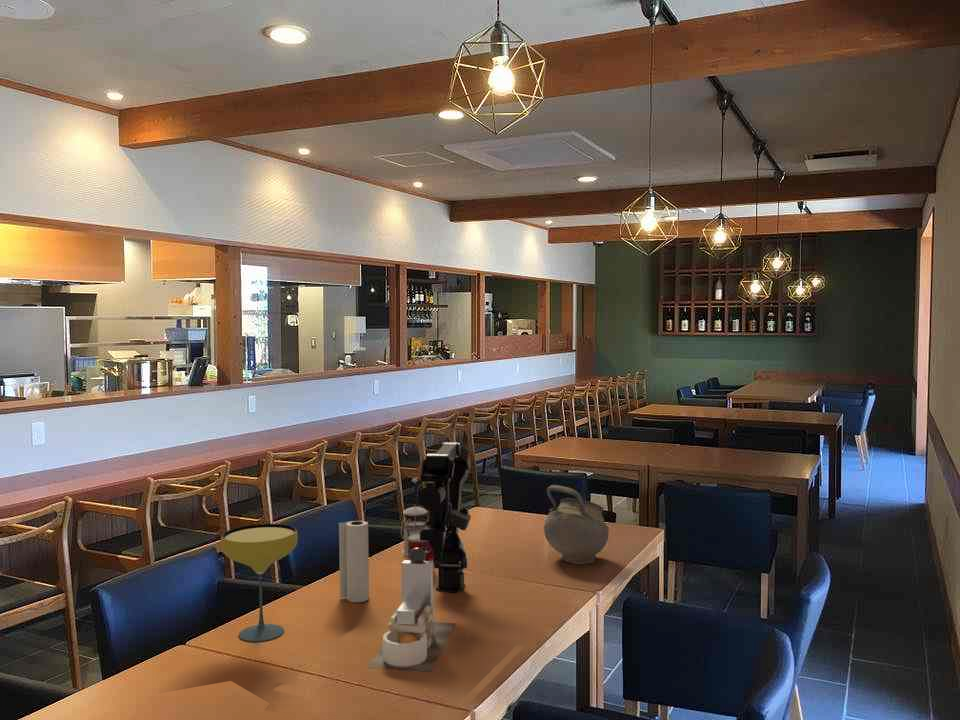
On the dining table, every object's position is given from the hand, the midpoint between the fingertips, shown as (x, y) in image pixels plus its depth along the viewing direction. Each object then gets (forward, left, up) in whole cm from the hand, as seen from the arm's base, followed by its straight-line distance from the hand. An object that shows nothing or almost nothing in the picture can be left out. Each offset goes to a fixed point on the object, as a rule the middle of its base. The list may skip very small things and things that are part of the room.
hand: (439, 558), depth 210 cm
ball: (+9, -33, -9) cm, 35 cm away
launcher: (+7, -27, -13) cm, 31 cm away
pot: (+21, +55, -13) cm, 60 cm away
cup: (+9, -35, -12) cm, 38 cm away
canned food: (-19, +25, -13) cm, 34 cm away
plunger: (+7, -28, -12) cm, 31 cm away
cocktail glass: (-32, -33, -13) cm, 48 cm away
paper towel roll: (-24, -3, -13) cm, 28 cm away
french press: (-31, +42, -13) cm, 53 cm away
